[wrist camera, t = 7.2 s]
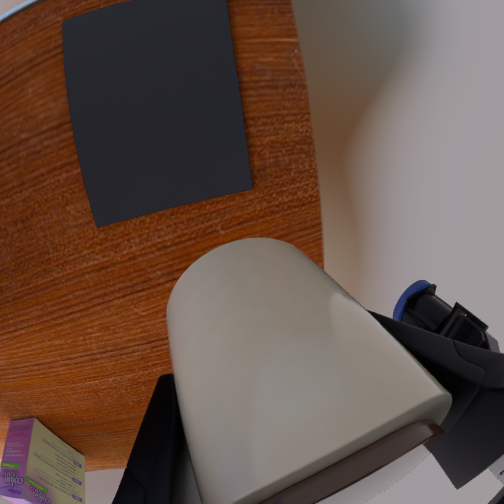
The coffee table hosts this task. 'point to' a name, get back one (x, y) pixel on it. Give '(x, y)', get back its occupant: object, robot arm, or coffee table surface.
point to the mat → (155, 106)
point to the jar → (292, 383)
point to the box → (40, 466)
